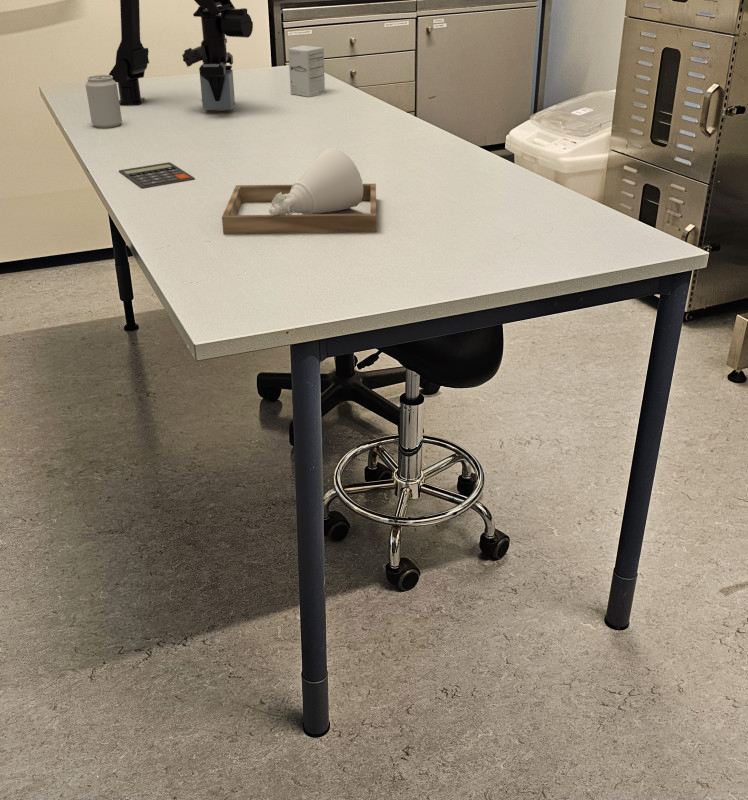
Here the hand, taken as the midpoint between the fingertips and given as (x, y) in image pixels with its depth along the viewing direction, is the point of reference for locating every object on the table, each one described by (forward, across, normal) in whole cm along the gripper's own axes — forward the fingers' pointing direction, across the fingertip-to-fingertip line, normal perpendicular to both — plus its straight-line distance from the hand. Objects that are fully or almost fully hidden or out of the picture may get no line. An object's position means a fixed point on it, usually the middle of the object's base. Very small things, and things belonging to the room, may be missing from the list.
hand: (219, 97), depth 246 cm
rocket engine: (+3, +88, +28) cm, 93 cm away
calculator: (+4, +60, -5) cm, 61 cm away
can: (+4, +14, -27) cm, 31 cm away
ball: (+1, 0, 0) cm, 1 cm away
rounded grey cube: (+2, 0, 0) cm, 2 cm away
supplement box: (+4, -21, +22) cm, 31 cm away
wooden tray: (+3, +88, +28) cm, 92 cm away
